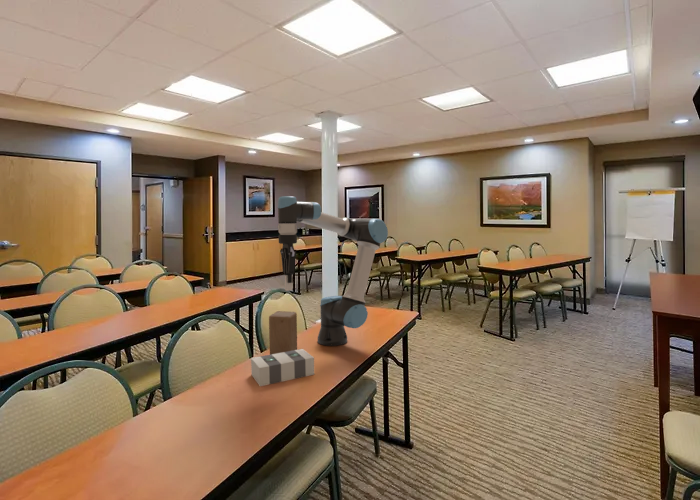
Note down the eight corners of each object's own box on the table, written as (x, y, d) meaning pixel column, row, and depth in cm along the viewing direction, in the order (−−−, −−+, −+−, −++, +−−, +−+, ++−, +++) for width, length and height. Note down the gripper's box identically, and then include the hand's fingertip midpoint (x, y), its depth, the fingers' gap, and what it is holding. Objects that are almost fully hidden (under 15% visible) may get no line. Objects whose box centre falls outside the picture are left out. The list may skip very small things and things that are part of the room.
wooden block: (290, 361, 168) (289, 316, 166) (268, 360, 170) (267, 315, 168) (298, 354, 177) (297, 311, 176) (277, 352, 179) (276, 310, 178)
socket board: (302, 364, 164) (302, 348, 164) (314, 374, 154) (313, 357, 153) (251, 375, 154) (251, 357, 153) (259, 386, 143) (259, 368, 143)
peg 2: (297, 368, 159) (297, 352, 158) (301, 372, 155) (300, 355, 155) (288, 370, 157) (288, 353, 156) (291, 374, 153) (291, 356, 153)
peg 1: (274, 373, 154) (273, 356, 153) (277, 377, 150) (276, 359, 150) (264, 375, 152) (263, 358, 151) (267, 379, 148) (266, 361, 148)
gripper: (274, 233, 163) (275, 288, 165) (284, 234, 152) (285, 293, 153) (290, 233, 167) (291, 287, 168) (302, 234, 155) (303, 291, 157)
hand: (288, 290), depth 161 cm, fingers closed
